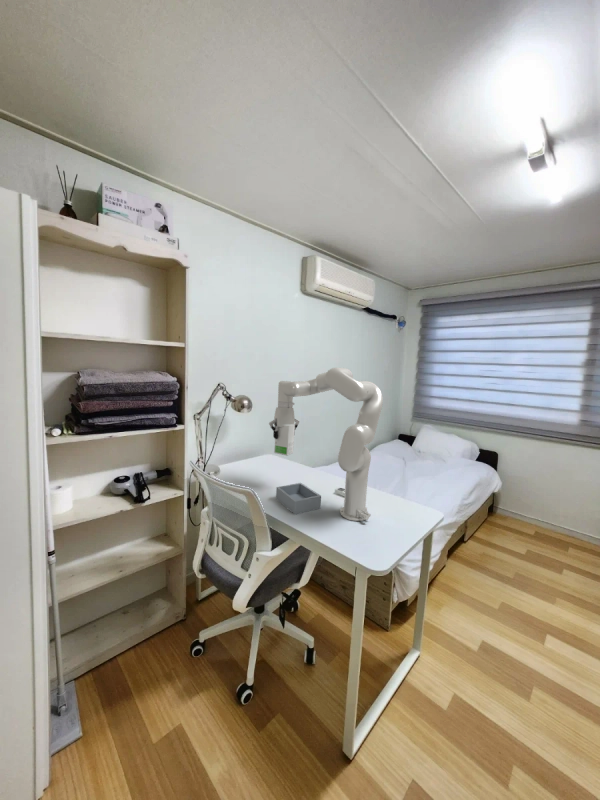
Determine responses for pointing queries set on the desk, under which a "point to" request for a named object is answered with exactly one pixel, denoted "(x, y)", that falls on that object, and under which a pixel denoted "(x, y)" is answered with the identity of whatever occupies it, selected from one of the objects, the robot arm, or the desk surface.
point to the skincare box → (285, 440)
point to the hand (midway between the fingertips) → (284, 437)
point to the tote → (298, 498)
